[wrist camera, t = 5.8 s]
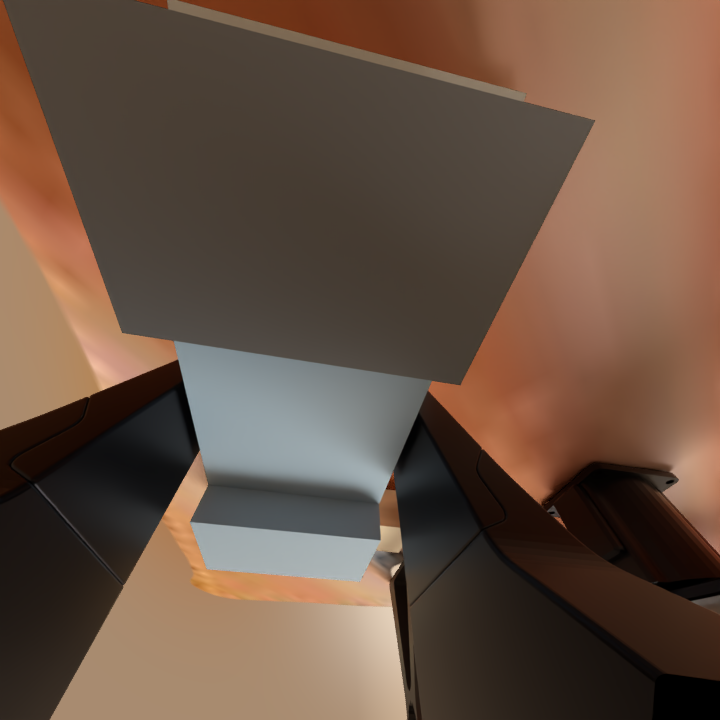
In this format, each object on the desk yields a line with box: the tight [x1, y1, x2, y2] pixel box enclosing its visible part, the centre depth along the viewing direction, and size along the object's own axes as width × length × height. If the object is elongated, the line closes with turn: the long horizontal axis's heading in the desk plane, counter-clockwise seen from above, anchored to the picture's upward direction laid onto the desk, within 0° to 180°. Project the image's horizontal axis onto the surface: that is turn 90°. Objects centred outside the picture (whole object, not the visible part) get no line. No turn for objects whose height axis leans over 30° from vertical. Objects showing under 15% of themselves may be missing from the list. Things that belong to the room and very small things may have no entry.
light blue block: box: [3, 0, 595, 582], centre depth 8 cm, size 12×5×5 cm, turn 170°
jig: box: [167, 0, 527, 102], centre depth 11 cm, size 15×10×2 cm, turn 170°
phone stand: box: [390, 561, 422, 720], centre depth 25 cm, size 9×6×12 cm, turn 170°
